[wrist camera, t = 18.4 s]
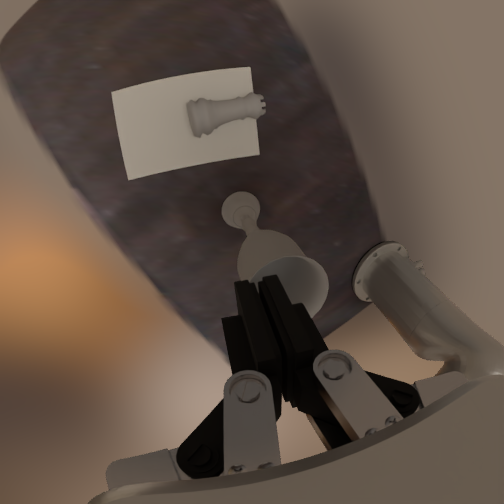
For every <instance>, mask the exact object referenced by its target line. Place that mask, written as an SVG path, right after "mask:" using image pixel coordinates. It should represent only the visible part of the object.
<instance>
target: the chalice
mask: <svg viewBox="0 0 504 504" xmlns="http://www.w3.org/2000/svg"><path fill="white" fill-rule="evenodd" d="M259 213H260V205H259V201H258V200H257V198H256V197H255V196H254V195H252V194H251V193H248V192H236V193H233V194H232V195H230V196H229V197H227V199H226V200H225V201H224V203H223V206H222V216H223V219H224V220H225V222H226V223H227V224H228V225H230V226H232V227H235V228H239V229H243V230H244V231H245V232H246V236H247V238H246V239H245V241H244V242H243V243H242V246H241V249H240V252H239V256H238V260H237V271H238V273H239V276H240V279H241V281H242V280H249V283H252V282H254V283H255V285H256V288H257V291H258V281H262V277H264V276H270V275H275V274H276V275H277V276H278V278H279V280H280V282H281V284H282V285H283V287H284V289H285V291H286V293H287V295H288V297H289V299H290V301H291V303H292V304H296V303H303V304H304V306H305V308H306V309H307V311H308V313H309V315H310V317H311V318H312V317H313V316H314V315H315V314H316V313H317V312H318V311H319V310H320V309H321V307H322V305H323V303H324V302H325V300H326V298H327V293H328V288H329V285H328V277H327V274H326V273H325V271H324V269H323V267H322V266H321V265H319V264H318V263H317V262H316V261H314V260H313V259H310V258H307V257H306V256H305V254H304V253H303V252H302V251H301V249H300V248H299V247H298V245H297V244H296V243H295V241H293V240H292V239H291V238H290V237H288V236H287V235H284V234H281V233H279V232H276V231H273V230H260V229H259V228H258V227H257V223H256V221H257V218H258V216H259ZM258 293H259V292H258Z"/></svg>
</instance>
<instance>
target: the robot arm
mask: <svg viewBox="0 0 504 504" xmlns="http://www.w3.org/2000/svg"><path fill="white" fill-rule="evenodd" d="M420 267H423V261H422V260H419V261H416V262H413V261H411V260H410V259H409V257H408V252H407V250H406V248H405V247H404V246H403V245H401V244H400V243H398V242H395V241H387V242H383V243H381V244H379V245H377V246H375V247H374V248H372V249H371V250H370V251H369V252H368V253H367V254H366V255H365V256H364V257H363V258H362V260H361V261H360V262H359V264H358V266H357V268H356V270H355V272H354V275H353V280H352V287H353V291H354V292H355V294H356V295H357V296H358V298H359V299H361V300H362V301H366V302H372V301H373V302H374V304H375V305H376V306H377V307H378V308H379V309H380V311H381V312H382V313H383V314H384V316H385V317H386V318H387V319H388V321H389V322H390V323H391V324H392V326H393V327H394V328H395V329H396V330H397V332H398V333H399V334H400V335H401V337H402V338H403V339H404V340H405V342H406V343H407V344H408V346H409V347H410V348H411V349H412V351H413V352H414V353H415V354H416V355H417V356H419V357H420V358H422V359H426V360H433V361H444V365H443V367H442V368H441V369H440V370H439V371H438V373H437V374H436V375H435V376H434V377H431V378H427V379H423V380H419V381H415V382H414V384H411V385H410V384H407V383H405V382H401V381H398V380H394V379H391V378H387V377H384V376H381V375H377V374H374V373H371V372H368V371H364V370H363V369H362V368H361V366H360V365H359V364H358V363H357V362H356V360H354V358H353V357H352V356H351V355H349V354H348V353H346V352H344V351H341V350H328V348H327V346H326V344H325V342H324V340H323V338H322V337H321V335H320V333H319V331H318V329H317V328H316V326H315V324H314V322H313V320H312V318H311V317H310V315H309V313H308V311H307V309H306V308H305V306H304V304H303V303H296V304H292V303H291V301H290V299H289V297H288V295H287V293H286V291H285V289H284V287H283V285H282V284H281V282H280V280H279V278H278V276H277V275H276V274H275V275H270V276H264V277H262V281H258V291H257V288H256V285H255V283H254V282H252V283H249V280H242V281H237V282H234V285H235V293H236V300H237V307H238V315H237V316H231V317H226V318H221V319H222V324H223V330H224V335H225V340H226V345H227V350H228V355H229V360H230V365H231V370H232V376H231V377H230V378H229V379H228V380H227V382H226V383H225V386H224V398H223V399H222V400H221V402H220V403H219V404H218V405H217V406H216V407H215V408H214V409H213V410H212V412H211V413H210V414H209V415H208V416H207V417H206V418H205V419H204V420H203V421H202V423H201V424H200V425H199V426H198V427H197V428H196V429H195V430H194V431H193V432H192V433H191V434H190V435H189V436H188V438H187V439H186V440H185V441H184V442H183V443H182V444H181V445H180V447H178V448H175V449H172V450H168V449H163V450H160V451H156V452H152V453H148V454H144V455H139V456H135V457H130V458H126V459H120V460H117V461H114V462H112V463H111V464H110V465H109V466H108V468H107V470H106V480H107V484H108V488H109V490H108V491H106V492H103V493H101V494H99V495H97V496H95V497H94V498H93V499H91V500H90V501H89V502H88V504H504V346H503V345H502V344H500V343H499V342H498V341H497V340H496V339H494V338H493V337H492V336H491V335H489V334H488V333H487V332H485V331H484V330H483V329H481V328H480V327H479V326H478V325H477V324H475V323H474V322H473V321H472V320H471V319H470V318H469V317H468V316H467V315H466V314H464V313H463V312H462V311H461V310H460V309H459V308H458V307H457V306H456V305H455V304H454V303H453V302H452V301H451V300H450V299H449V298H448V297H447V296H446V295H445V294H444V293H443V292H442V291H440V289H438V288H437V287H436V286H435V285H434V284H433V283H432V282H431V281H430V280H429V279H428V278H426V277H425V270H424V269H422V268H420ZM417 268H420V269H417ZM258 292H259V293H258ZM282 395H283V398H284V400H285V402H288V401H290V403H291V405H292V408H294V407H297V408H298V410H299V411H301V412H303V413H306V416H307V418H308V420H309V422H310V423H311V425H312V426H313V428H314V430H315V431H316V433H317V435H318V436H319V438H320V440H321V441H322V443H323V444H324V446H325V448H326V449H327V451H326V452H324V453H320V454H318V455H314V456H311V457H308V458H304V459H301V460H298V461H294V462H290V463H286V464H283V465H281V458H280V451H279V442H278V435H277V426H276V422H277V420H278V419H279V417H280V416H281V402H282Z"/></svg>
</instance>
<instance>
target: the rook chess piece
mask: <svg viewBox="0 0 504 504" xmlns="http://www.w3.org/2000/svg"><path fill="white" fill-rule="evenodd" d="M263 99H264V98H263V96H262V95H261V96H260V94H257V95H256V94H254V93H252V92H250V93H249V94H248V95H247V96H246V97H244V98H241V97H239V96H238V97H236V99H232V100H222V101H212V100H211V99H210V100H206V99H204V98H198V100H197V101H196V102H194V101H193V100H190V101H189V102H188V103H187V104H186V107H187V113H188V118H189V122H190V126H191V129H192V132H193V135H194V136H196V137H199V138H200V137H201V135H202V133H204V134H206V135H209V134H211V133H212V132H213V130H214V129H217V128H218V127H219V126H221V125H223V124H225V123H228V122H231V121H233V120H238V119H241V120H244V119H245V118H246V117H251V118H253V119H258V118H259V116H260V115H264V113H266V110H265V109H262V107H264V106H266V104H265V102H262V103H261V101H260V100H263Z"/></svg>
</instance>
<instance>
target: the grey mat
mask: <svg viewBox="0 0 504 504" xmlns="http://www.w3.org/2000/svg"><path fill="white" fill-rule="evenodd" d="M250 92H252V93H253V86H252V77H251V69H250V67H242V68H231V69H221V70H213V71H206V72H199V73H192V74H186V75H181V76H175V77H170V78H165V79H161V80H156V81H152V82H147V83H143V84H139V85H135V86H132V87H128V88H124V89H121V90H118V91H114V92H111V93H112V99H113V106H114V112H115V118H116V124H117V129H118V134H119V140H120V145H121V149H122V154H123V159H124V163H125V168H126V172H127V176H128V180H132V179H135V178H139V177H144V176H148V175H152V174H156V173H161V172H165V171H170V170H174V169H179V168H184V167H189V166H194V165H199V164H204V163H210V162H215V161H221V160H227V159H233V158H240V157H246V156H253V155H260V153H259V143H258V134H257V124H256V119H253V118H251V117H246V118H245V119H244V120H241V119H238V120H233V121H231V122H228V123H225V124H223V125H221V126H219V127H218V128H217V129H214V130H213V132H212V133H211V134H209V135H206V134H204V133H202V135H201V137H200V138H199V137H196V136H194V135H193V132H192V129H191V126H190V122H189V118H188V113H187V107H186V104H187V103H188V102H189V101H190V100H193V101H194V102H196V101H197V100H198V98H204V99H206V100H210V99H211V100H212V101H222V100H232V99H236V97H238V96H239V97H241V98H244V97H246V96H247V95H248V94H249V93H250Z"/></svg>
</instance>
